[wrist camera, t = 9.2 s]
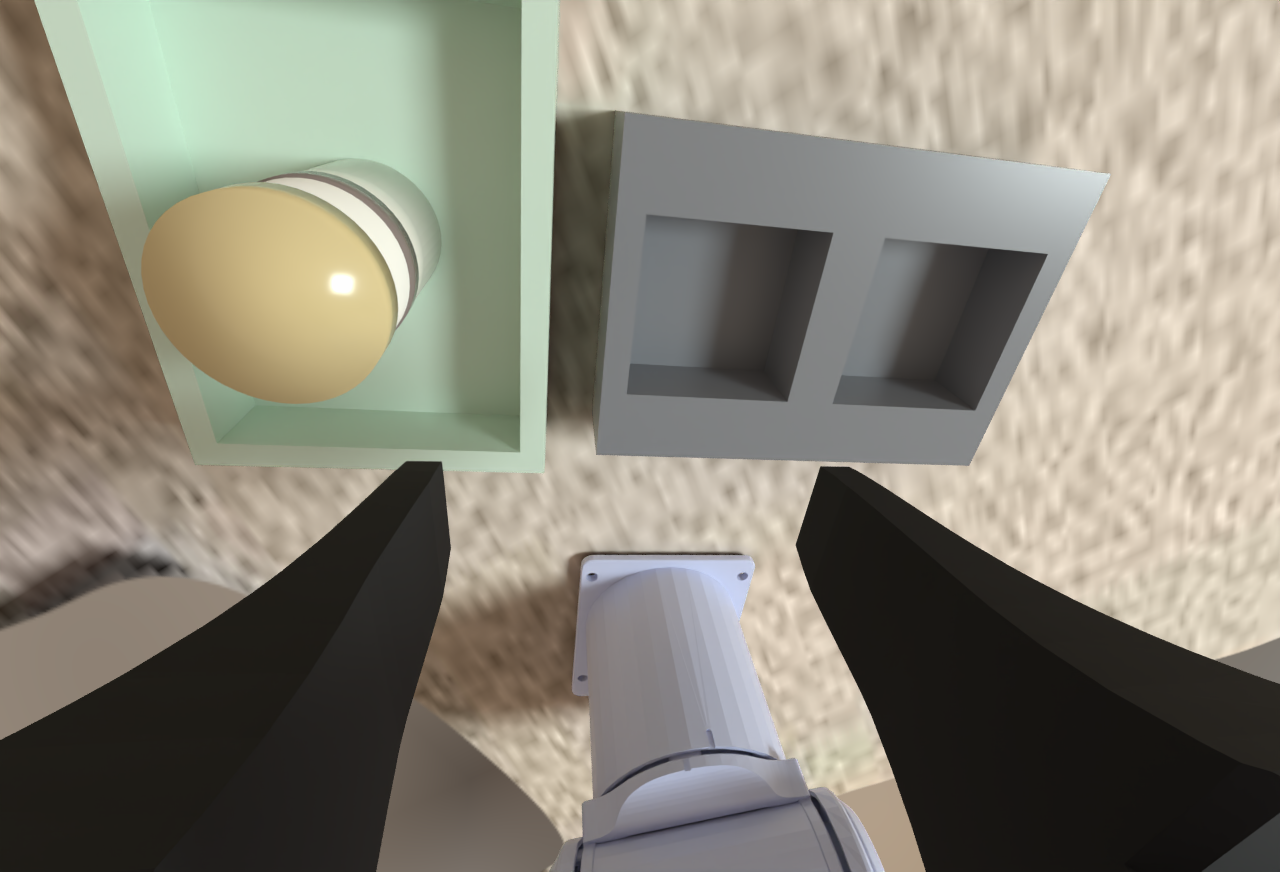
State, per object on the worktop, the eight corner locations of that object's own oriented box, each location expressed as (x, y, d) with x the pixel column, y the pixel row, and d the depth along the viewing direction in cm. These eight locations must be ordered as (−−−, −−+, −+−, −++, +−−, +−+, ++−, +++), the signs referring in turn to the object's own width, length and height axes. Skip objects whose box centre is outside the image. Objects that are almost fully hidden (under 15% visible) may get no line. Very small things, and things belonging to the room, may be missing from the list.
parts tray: (546, 428, 21) (544, 473, 19) (242, 417, 20) (194, 464, 17) (560, -21, 15) (559, -47, 12) (98, -97, 13) (-16, -145, 10)
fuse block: (924, 426, 23) (969, 465, 21) (592, 412, 21) (596, 454, 19) (1035, 164, 18) (1110, 174, 16) (615, 110, 16) (625, 112, 14)
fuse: (450, 304, 18) (399, 405, 12) (311, 298, 17) (185, 403, 12) (437, 160, 16) (367, 197, 10) (278, 148, 15) (102, 180, 9)
